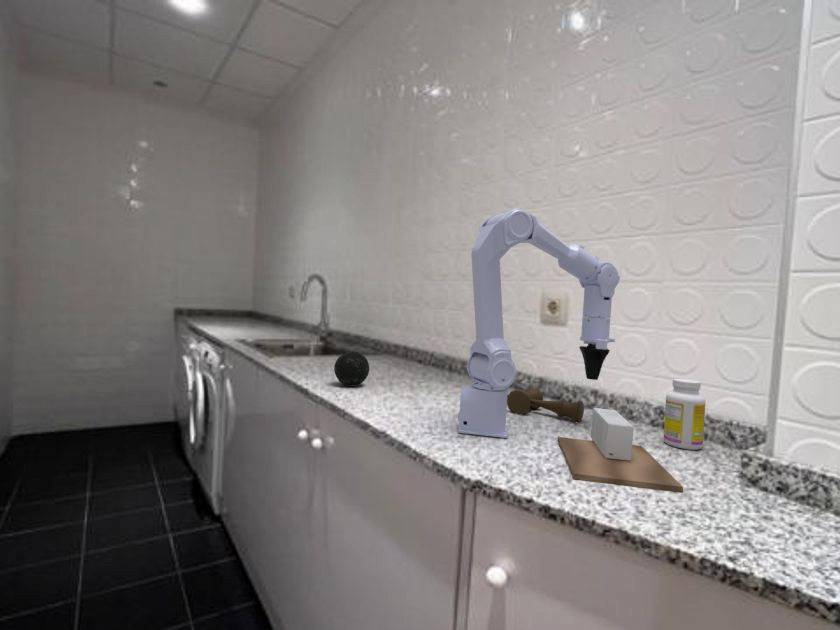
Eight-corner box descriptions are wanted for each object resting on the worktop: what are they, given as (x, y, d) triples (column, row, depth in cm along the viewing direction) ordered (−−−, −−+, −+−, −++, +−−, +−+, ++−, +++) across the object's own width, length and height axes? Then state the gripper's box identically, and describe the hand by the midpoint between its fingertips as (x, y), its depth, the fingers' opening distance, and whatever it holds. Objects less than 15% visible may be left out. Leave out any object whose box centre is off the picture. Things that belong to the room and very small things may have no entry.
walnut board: (573, 478, 66) (574, 473, 66) (557, 441, 84) (557, 436, 84) (682, 492, 63) (683, 486, 63) (640, 450, 82) (641, 445, 82)
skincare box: (613, 440, 84) (631, 462, 72) (590, 437, 85) (604, 459, 73) (616, 408, 84) (634, 426, 72) (592, 406, 85) (607, 423, 73)
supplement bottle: (699, 444, 88) (704, 380, 87) (705, 453, 82) (710, 385, 81) (661, 437, 91) (666, 376, 90) (664, 446, 85) (669, 380, 84)
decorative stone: (327, 386, 123) (329, 351, 123) (342, 381, 133) (344, 348, 133) (360, 390, 121) (362, 354, 120) (373, 384, 130) (375, 351, 130)
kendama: (574, 429, 96) (492, 409, 108) (586, 422, 103) (509, 404, 115) (576, 402, 96) (494, 385, 108) (589, 397, 103) (511, 381, 115)
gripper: (624, 319, 88) (620, 386, 89) (607, 318, 103) (603, 375, 103) (588, 317, 90) (583, 383, 90) (576, 316, 104) (572, 373, 104)
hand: (592, 379), depth 97 cm, fingers closed
